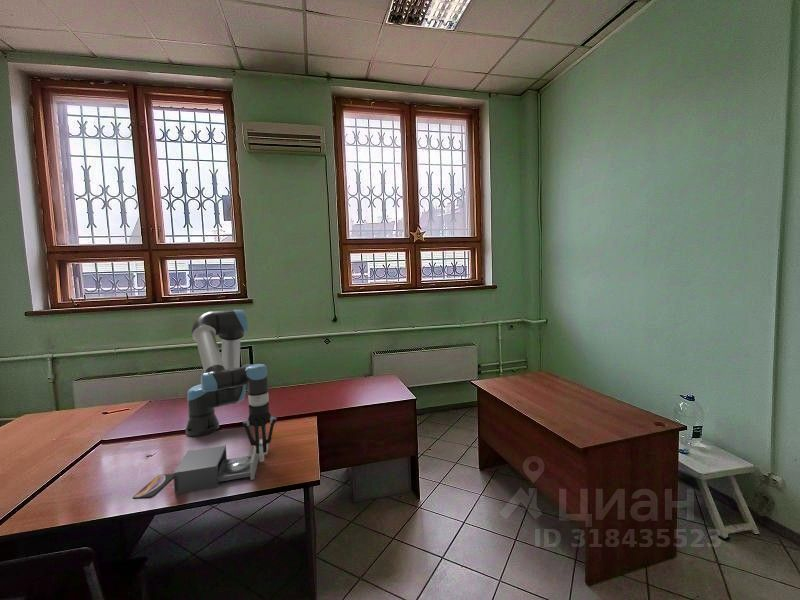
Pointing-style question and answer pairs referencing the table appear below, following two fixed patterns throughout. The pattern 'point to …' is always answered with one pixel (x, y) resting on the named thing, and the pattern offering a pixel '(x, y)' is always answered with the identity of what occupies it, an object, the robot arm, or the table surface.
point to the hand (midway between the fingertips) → (262, 460)
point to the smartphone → (154, 486)
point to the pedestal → (266, 445)
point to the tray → (246, 473)
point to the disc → (237, 465)
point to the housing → (199, 469)
